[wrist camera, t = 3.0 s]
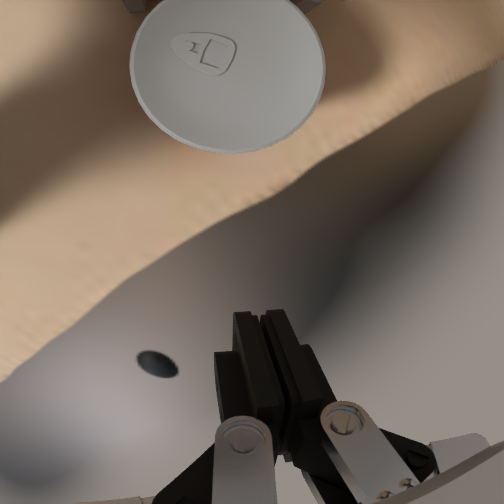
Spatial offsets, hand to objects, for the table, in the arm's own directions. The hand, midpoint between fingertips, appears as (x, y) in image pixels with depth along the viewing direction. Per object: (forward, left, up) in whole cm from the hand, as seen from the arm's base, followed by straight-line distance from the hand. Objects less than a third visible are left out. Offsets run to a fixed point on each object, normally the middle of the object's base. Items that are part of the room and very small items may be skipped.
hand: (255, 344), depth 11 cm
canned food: (+10, +1, -16) cm, 18 cm away
